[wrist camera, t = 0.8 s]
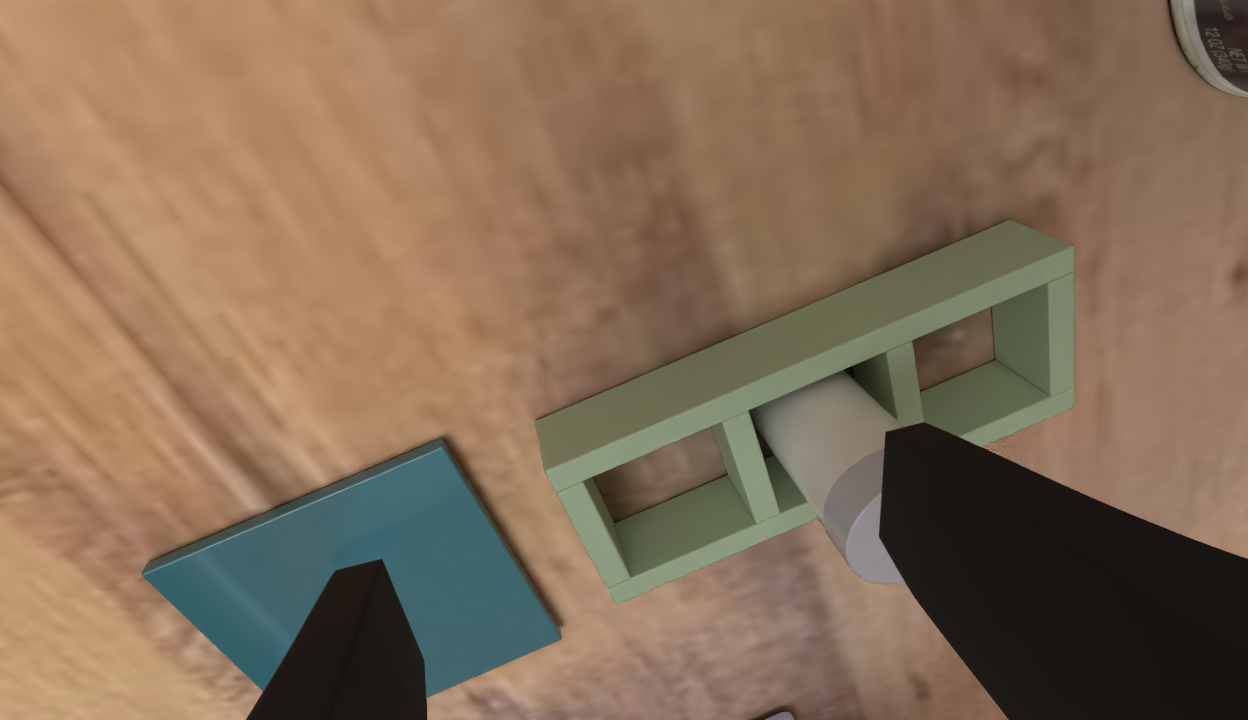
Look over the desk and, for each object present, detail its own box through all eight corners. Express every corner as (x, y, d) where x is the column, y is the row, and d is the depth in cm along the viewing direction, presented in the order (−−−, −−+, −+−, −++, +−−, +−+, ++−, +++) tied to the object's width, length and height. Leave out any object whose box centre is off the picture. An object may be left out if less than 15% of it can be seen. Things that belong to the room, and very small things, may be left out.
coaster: (560, 628, 24) (562, 639, 24) (320, 732, 24) (318, 745, 24) (443, 436, 20) (442, 446, 19) (146, 562, 20) (139, 575, 19)
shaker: (850, 412, 23) (981, 550, 17) (757, 452, 23) (858, 604, 17) (832, 329, 21) (970, 452, 16) (731, 371, 21) (834, 511, 15)
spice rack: (1017, 368, 24) (1074, 407, 21) (600, 548, 23) (615, 606, 21) (1009, 218, 21) (1075, 245, 19) (533, 420, 20) (544, 471, 18)
